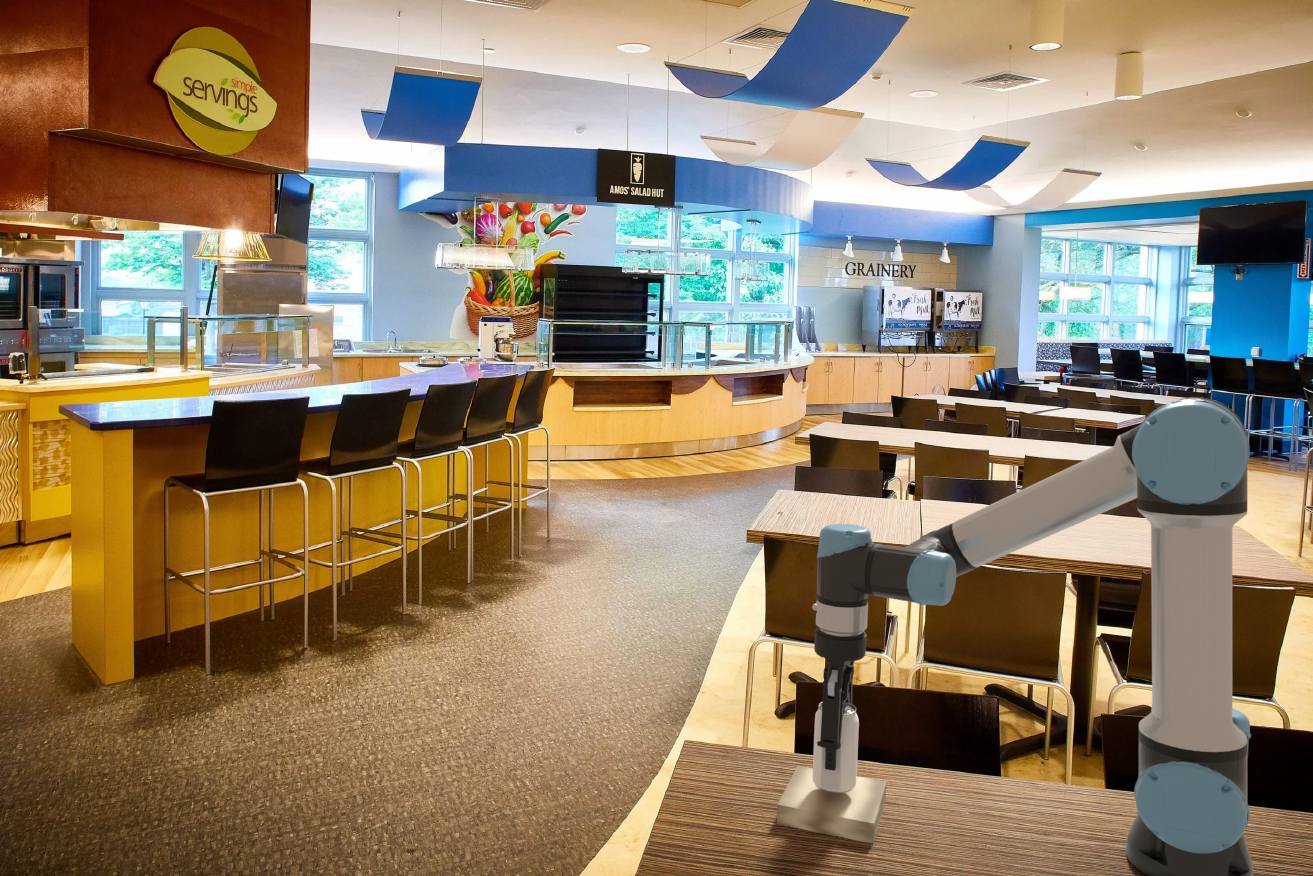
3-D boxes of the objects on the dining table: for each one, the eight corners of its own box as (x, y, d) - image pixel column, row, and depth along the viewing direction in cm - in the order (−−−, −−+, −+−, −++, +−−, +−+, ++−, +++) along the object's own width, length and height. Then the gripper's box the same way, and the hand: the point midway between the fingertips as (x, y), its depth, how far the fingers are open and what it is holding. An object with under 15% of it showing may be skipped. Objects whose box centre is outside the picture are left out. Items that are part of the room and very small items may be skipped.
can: (859, 795, 138) (863, 716, 137) (815, 793, 138) (818, 715, 137) (851, 775, 145) (854, 699, 144) (809, 773, 145) (812, 698, 144)
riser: (885, 800, 146) (886, 781, 146) (873, 843, 133) (874, 823, 133) (796, 783, 151) (797, 765, 151) (776, 824, 138) (777, 804, 138)
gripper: (827, 609, 150) (821, 749, 152) (802, 644, 132) (796, 802, 134) (875, 615, 147) (868, 757, 149) (856, 651, 129) (849, 812, 131)
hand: (834, 778), depth 142 cm, fingers closed on can, 6 cm apart
